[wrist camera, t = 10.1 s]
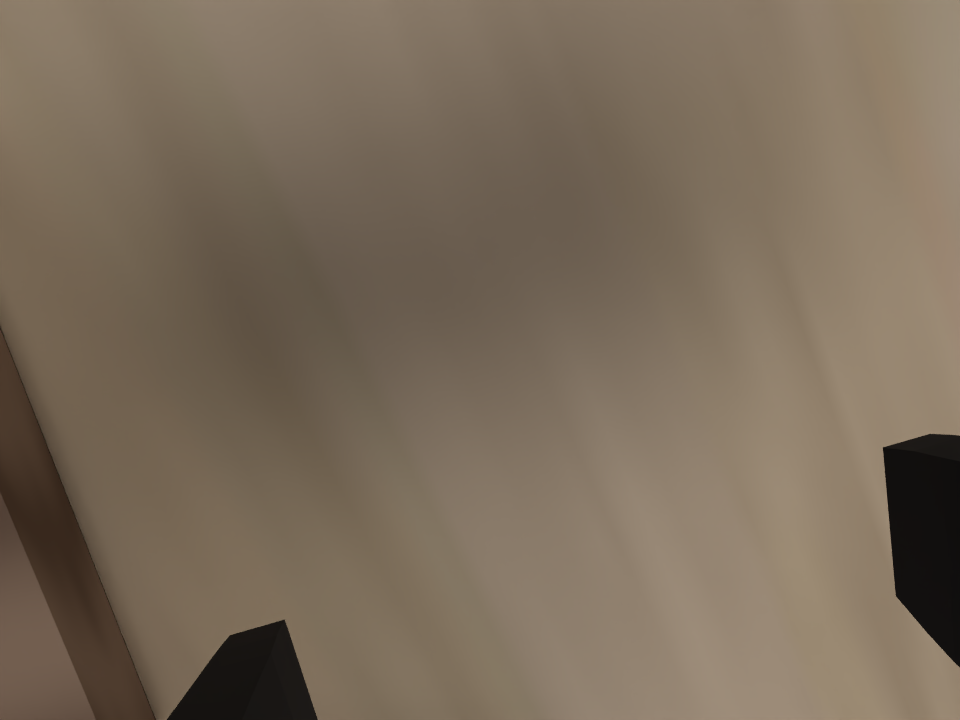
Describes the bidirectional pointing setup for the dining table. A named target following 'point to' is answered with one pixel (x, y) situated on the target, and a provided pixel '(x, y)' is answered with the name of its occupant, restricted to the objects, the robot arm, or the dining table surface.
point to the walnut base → (51, 589)
